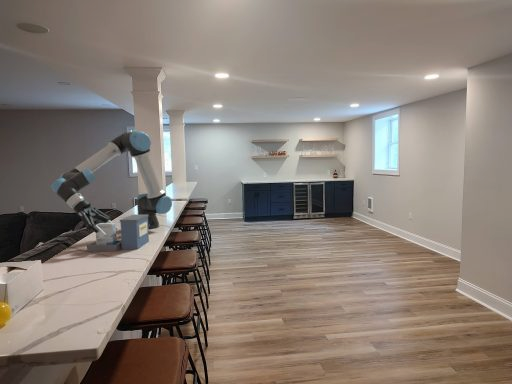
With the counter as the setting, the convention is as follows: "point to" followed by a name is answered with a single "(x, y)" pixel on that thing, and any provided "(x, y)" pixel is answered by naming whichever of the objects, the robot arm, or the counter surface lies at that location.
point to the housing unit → (134, 231)
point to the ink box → (107, 234)
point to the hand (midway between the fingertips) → (110, 233)
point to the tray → (104, 247)
